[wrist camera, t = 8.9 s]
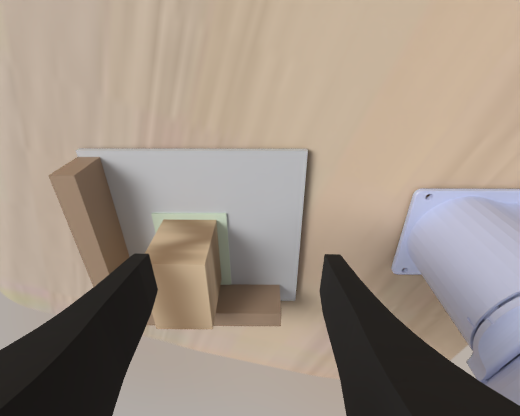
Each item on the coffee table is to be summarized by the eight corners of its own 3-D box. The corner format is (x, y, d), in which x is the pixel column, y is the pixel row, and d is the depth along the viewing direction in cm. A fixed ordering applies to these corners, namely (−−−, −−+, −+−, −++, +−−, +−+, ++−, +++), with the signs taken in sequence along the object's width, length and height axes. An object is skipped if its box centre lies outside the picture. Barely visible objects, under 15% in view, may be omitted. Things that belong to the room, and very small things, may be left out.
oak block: (216, 219, 22) (204, 264, 17) (221, 278, 25) (212, 329, 21) (163, 219, 22) (138, 263, 18) (175, 278, 25) (156, 328, 21)
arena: (307, 148, 20) (315, 169, 17) (294, 297, 27) (298, 330, 24) (78, 148, 20) (45, 168, 17) (127, 296, 27) (110, 328, 24)
